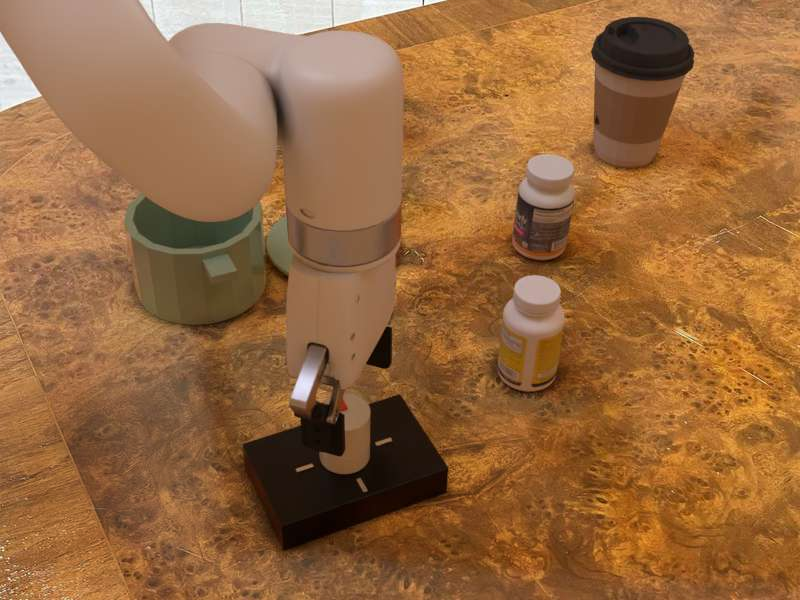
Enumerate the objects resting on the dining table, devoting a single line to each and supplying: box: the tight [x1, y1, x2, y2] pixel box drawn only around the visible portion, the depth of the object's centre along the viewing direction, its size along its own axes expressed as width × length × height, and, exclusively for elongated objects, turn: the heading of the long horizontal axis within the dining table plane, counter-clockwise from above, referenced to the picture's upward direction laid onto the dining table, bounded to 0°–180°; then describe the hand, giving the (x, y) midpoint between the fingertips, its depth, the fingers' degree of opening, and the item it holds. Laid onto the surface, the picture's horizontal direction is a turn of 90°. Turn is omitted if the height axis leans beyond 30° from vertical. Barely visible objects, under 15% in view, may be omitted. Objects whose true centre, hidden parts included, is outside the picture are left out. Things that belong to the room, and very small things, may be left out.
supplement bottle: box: [496, 274, 566, 392], centre depth 94 cm, size 5×5×10 cm
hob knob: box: [319, 392, 371, 474], centre depth 83 cm, size 4×4×5 cm
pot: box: [123, 192, 267, 326], centre depth 103 cm, size 13×18×8 cm
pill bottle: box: [511, 153, 576, 261], centre depth 109 cm, size 6×6×10 cm
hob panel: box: [241, 393, 449, 551], centre depth 86 cm, size 14×9×3 cm, turn 115°
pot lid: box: [265, 214, 399, 277], centre depth 108 cm, size 14×14×7 cm
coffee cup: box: [590, 16, 695, 169], centre depth 122 cm, size 11×11×15 cm
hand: (348, 404), depth 81 cm, fingers open, 9 cm apart
